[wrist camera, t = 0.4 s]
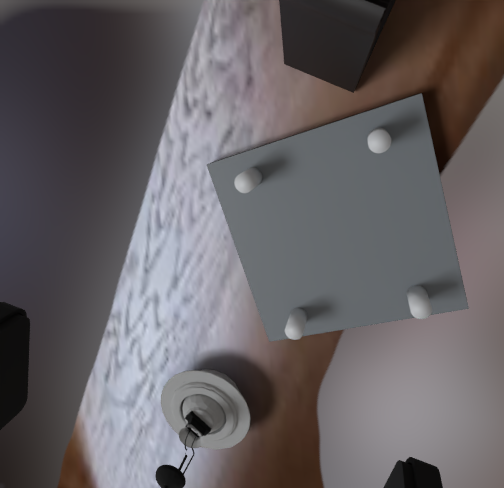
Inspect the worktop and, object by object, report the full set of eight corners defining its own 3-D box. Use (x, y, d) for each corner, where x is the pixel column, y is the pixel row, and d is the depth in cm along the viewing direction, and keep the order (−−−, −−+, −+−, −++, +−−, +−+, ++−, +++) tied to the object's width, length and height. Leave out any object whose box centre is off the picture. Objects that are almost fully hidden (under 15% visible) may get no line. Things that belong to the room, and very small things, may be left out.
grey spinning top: (91, 476, 37) (175, 549, 37) (152, 421, 33) (245, 503, 33) (155, 388, 48) (219, 445, 49) (206, 338, 44) (275, 401, 45)
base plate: (419, 93, 32) (427, 92, 28) (465, 302, 36) (477, 326, 32) (211, 162, 38) (193, 170, 34) (271, 335, 42) (262, 359, 38)
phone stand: (333, -63, 30) (316, -156, 19) (411, -33, 29) (439, -111, 18) (284, 64, 34) (246, 47, 23) (353, 93, 33) (348, 90, 22)
